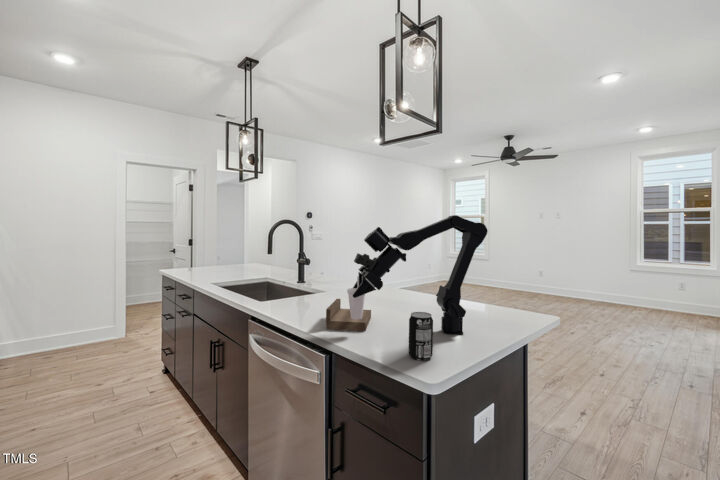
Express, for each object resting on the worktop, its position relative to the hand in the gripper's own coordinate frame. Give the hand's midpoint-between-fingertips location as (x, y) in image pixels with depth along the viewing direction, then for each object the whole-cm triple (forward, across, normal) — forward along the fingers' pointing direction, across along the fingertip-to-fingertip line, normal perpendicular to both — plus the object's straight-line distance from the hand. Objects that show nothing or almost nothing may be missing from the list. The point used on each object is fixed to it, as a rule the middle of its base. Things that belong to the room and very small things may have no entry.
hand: (352, 294), depth 112 cm
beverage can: (-2, +21, +22) cm, 30 cm away
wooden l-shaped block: (+9, -13, +10) cm, 19 cm away
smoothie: (+5, +1, +7) cm, 8 cm away
